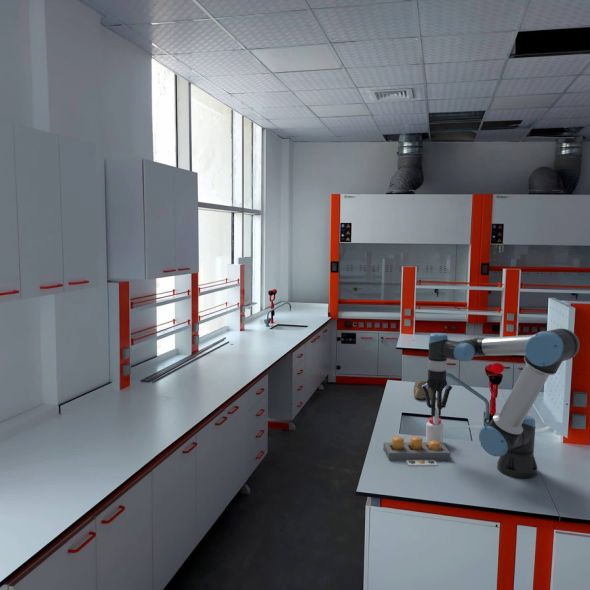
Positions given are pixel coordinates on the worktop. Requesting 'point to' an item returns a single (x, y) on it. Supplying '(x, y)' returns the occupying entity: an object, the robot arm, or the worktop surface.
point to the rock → (420, 390)
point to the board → (416, 452)
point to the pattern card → (421, 463)
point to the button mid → (416, 443)
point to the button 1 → (398, 443)
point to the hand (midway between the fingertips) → (435, 423)
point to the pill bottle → (434, 431)
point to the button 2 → (434, 445)
